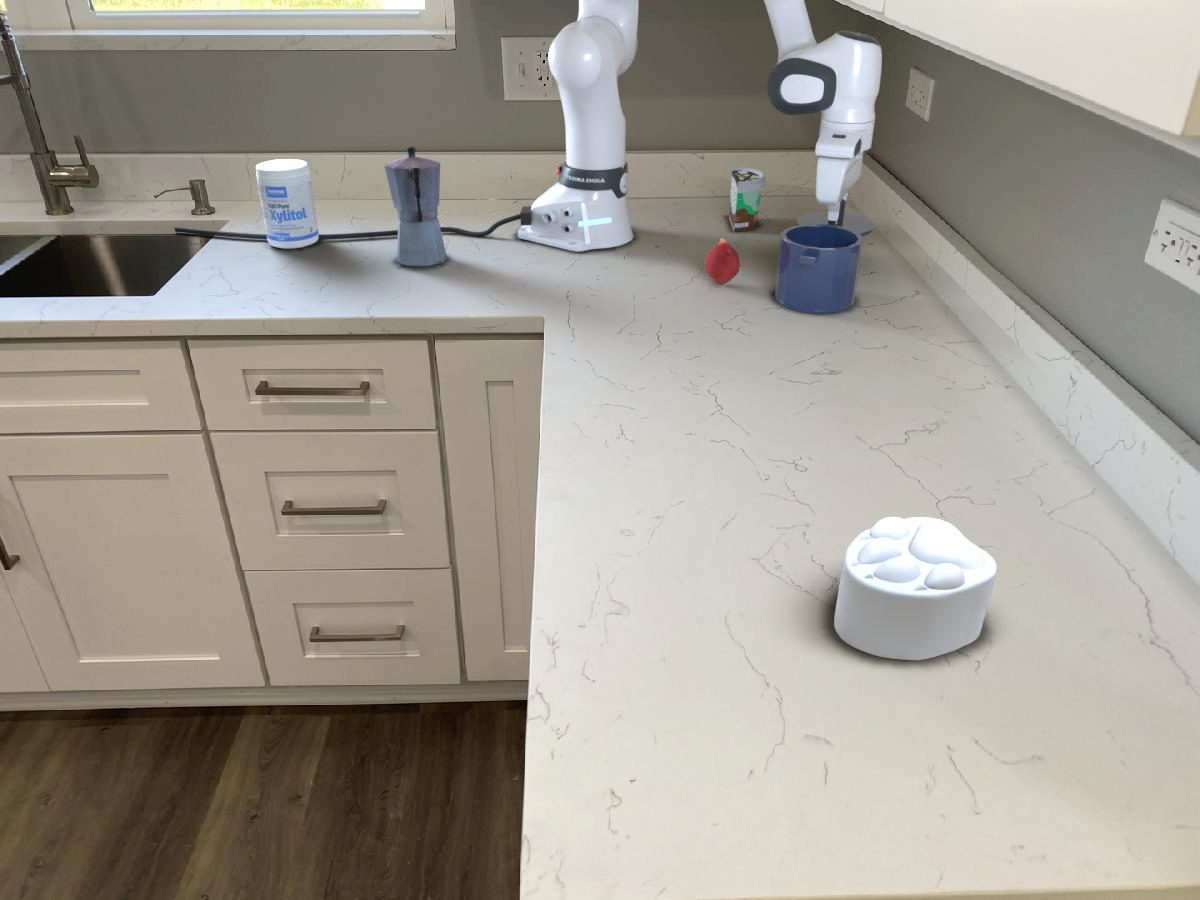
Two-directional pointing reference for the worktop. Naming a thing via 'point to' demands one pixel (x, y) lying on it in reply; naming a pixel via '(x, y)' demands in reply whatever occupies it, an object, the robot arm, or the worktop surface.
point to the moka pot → (416, 209)
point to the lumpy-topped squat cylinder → (913, 589)
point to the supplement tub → (287, 203)
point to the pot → (818, 268)
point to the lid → (840, 220)
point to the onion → (722, 262)
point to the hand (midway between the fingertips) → (835, 216)
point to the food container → (745, 197)
